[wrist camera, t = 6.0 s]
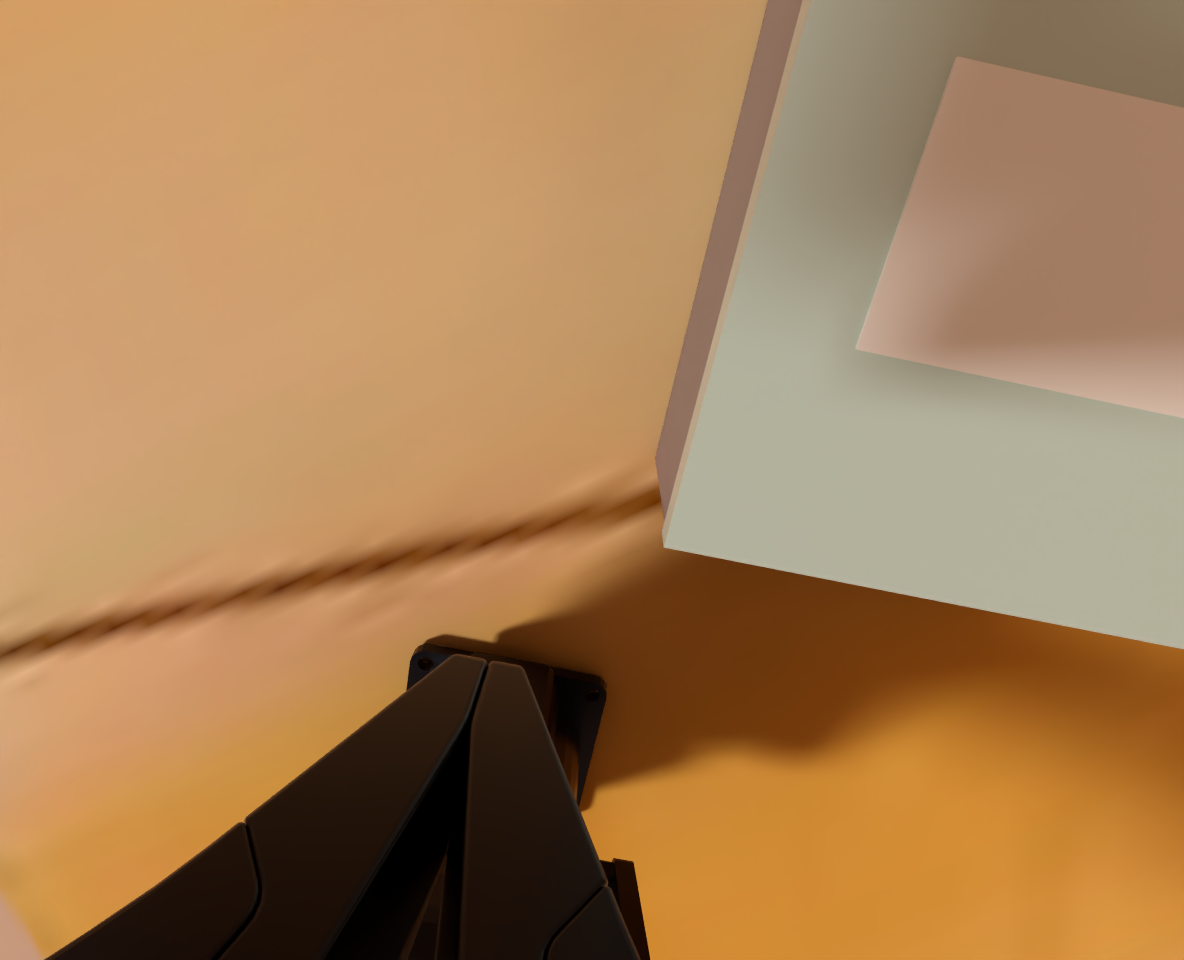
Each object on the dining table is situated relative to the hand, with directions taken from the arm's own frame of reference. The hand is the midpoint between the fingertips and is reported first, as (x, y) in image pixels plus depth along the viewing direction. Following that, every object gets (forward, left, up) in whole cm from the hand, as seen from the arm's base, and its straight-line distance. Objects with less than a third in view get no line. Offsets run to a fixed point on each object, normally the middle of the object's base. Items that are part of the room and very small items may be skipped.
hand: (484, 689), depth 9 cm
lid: (+5, -9, -8) cm, 13 cm away
